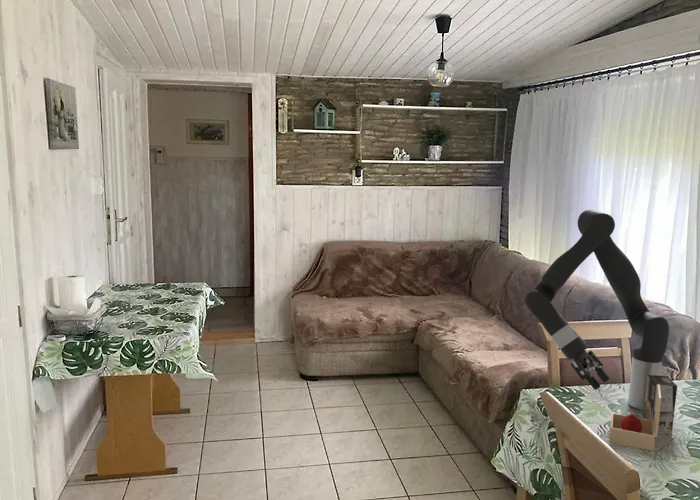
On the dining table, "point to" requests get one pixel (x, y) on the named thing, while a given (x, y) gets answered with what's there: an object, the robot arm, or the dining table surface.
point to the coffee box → (667, 401)
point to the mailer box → (634, 438)
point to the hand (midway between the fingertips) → (602, 384)
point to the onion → (631, 423)
